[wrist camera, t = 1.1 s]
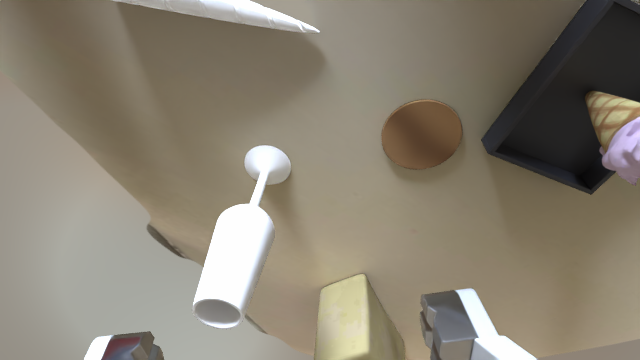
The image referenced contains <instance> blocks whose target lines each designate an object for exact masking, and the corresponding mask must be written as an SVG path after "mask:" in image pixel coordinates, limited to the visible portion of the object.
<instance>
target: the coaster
mask: <svg viewBox="0 0 640 360" xmlns="http://www.w3.org/2000/svg"><path fill="white" fill-rule="evenodd" d="M461 137H462V126H461V122H460V120H459V118H458V116H457V114H456V113H455V112H454V110H452V109H451V108H450V107H449V106H447V105H446V104H444V103H442V102H439V101H435V100H416V101H412V102H409V103H407V104H404V105H403V106H401V107H399V108H398V109H396V110H395V111H394V112H393V113H392V114H391V115H390V116H389V117H388V119H387V120H386V122H385V124H384V126H383V130H382V146H383V149H384V151H385V153H386V154H387V156H388V157H389V158H390V159H391V160H392V161H393V162H395V163H396V164H398V165H400V166H402V167H405V168H409V169H427V168H431V167H434V166H436V165H439V164H441V163H442V162H444V161H446V160H447V159H448V158H449V157H450V156H451V155H452V154H453V153H454V152H455V151H456V149H457V148H458V146H459V144H460V141H461Z"/></svg>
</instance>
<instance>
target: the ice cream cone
mask: <svg viewBox="0 0 640 360" xmlns="http://www.w3.org/2000/svg"><path fill="white" fill-rule="evenodd" d="M585 101H586V105H587V108H588V112H589V115H590V118H591V121H592V124H593V127H594V130H595V132H596V135H597V137H598V140H599V142H600V144H601V147H600V150H599V151H600V153H601V154H602V155H603V157H602V164H603V166H604V167H605V168H607V169H610V170H613V171H616V172H617V174H618V175H619V176H620V177H621V178H623V179H626V180H627V181H628V182H629V183H631V184H633V185H636V182H637V179H638V178H640V103H639V102H636V101H632V100H629V99H625V98H622V97H618V96H614V95H610V94H606V93H602V92H598V91H590V92H588V93H587V94H586V96H585Z"/></svg>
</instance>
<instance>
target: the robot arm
mask: <svg viewBox="0 0 640 360" xmlns="http://www.w3.org/2000/svg"><path fill="white" fill-rule="evenodd" d="M420 303H421V306H422V309H423V310H422V311H421V312H420V324H421V331H422V334H423V338H424V341H425V344H426V345H427V346H428V347H429V348H430V349H431V355H430V359H431V360H538V359H536V358H535V357H534V356H532V355H531V354H529V353H528V352H527V351H525V350H524V349H522V348H521V347H520V346H518V345H517V344H515V343H514V342H513V341H511V340H510V339H508V338H507V337H506V336H499V335H498V333H497V331H496V329H495V327H494V325H493V324H492V322H491V320H490V318H489V316H488V314H487V312H486V310H485V308H484V306H483V305H482V303H481V301H480V299H479V297H478V295H477V293H476V291H475V290H474V289H473V288H469V289H462V290H455V291H454V290H451V291H444V292H438V293H431V294H424V295H422V296H421V302H420ZM153 341H154V336H153V335H152V333H151V332H150V331H149V332H139V333H129V334H120V335H111V336H103V337H97V338H96V339H95V340H94V341H93V342H92V344H91V346H90V348H89V350H88V352H87V354H86V356H85V358H84V360H164V357H163V352H162V350H161V348H160V347H159V346H157V345H155V344H153Z"/></svg>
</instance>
